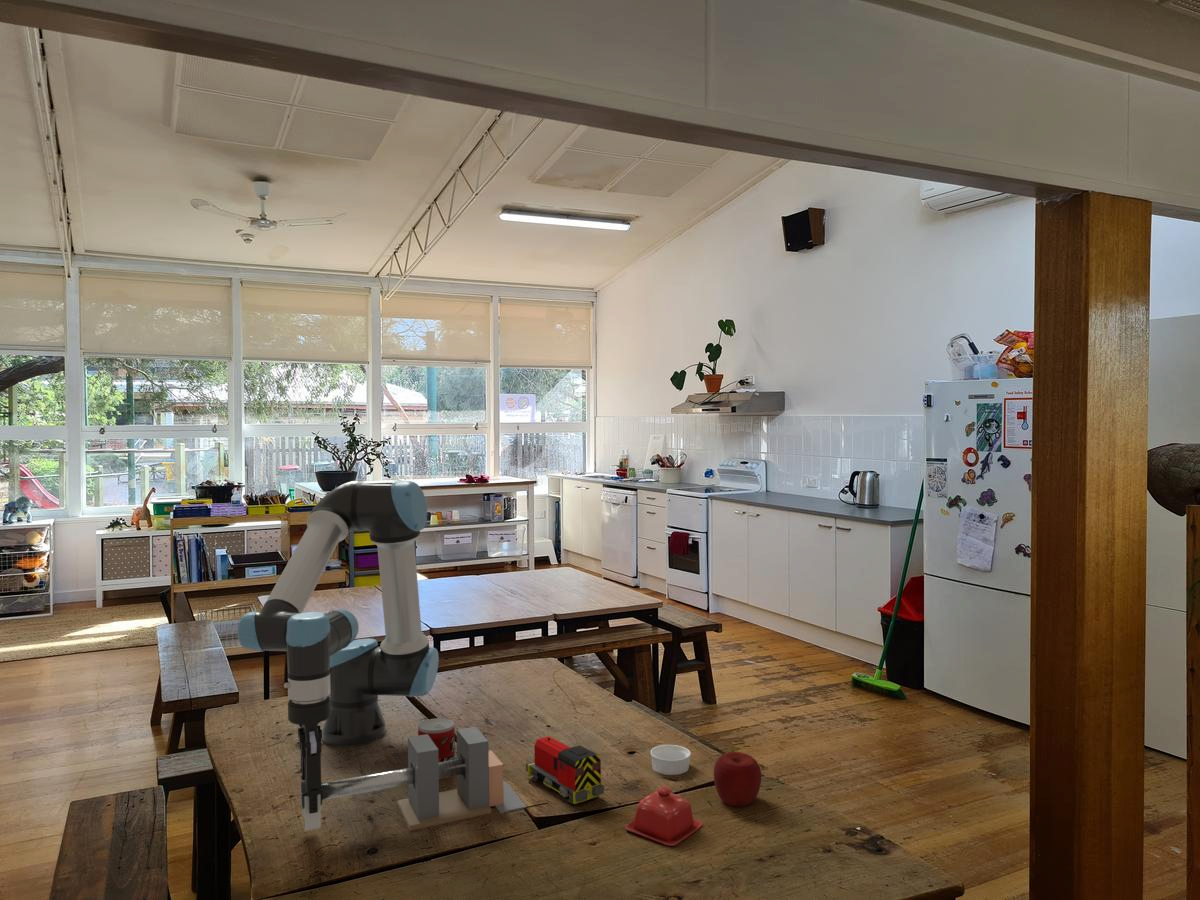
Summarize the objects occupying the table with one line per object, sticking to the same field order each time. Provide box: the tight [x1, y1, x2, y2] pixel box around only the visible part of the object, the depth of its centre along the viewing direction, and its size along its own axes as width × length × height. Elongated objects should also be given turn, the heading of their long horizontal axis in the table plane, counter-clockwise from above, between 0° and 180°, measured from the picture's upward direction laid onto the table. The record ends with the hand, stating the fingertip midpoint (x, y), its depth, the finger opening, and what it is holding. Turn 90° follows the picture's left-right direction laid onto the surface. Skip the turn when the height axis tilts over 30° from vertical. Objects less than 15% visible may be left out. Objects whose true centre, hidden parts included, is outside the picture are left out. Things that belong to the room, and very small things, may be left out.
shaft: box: [299, 758, 466, 810], centre depth 161 cm, size 31×5×5 cm, turn 115°
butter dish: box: [624, 786, 703, 847], centre depth 157 cm, size 12×12×8 cm
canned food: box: [417, 717, 456, 780], centre depth 183 cm, size 8×8×11 cm
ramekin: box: [650, 744, 692, 776], centre depth 184 cm, size 9×9×4 cm
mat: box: [494, 779, 527, 814], centre depth 172 cm, size 14×10×1 cm
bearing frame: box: [396, 726, 492, 832], centre depth 166 cm, size 16×12×14 cm
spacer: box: [489, 750, 504, 808], centre depth 170 cm, size 8×3×8 cm, turn 25°
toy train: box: [525, 735, 605, 805], centre depth 174 cm, size 7×19×10 cm, turn 37°
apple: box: [713, 751, 762, 808], centre depth 168 cm, size 10×10×10 cm
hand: (311, 821), depth 156 cm, fingers open, 5 cm apart
